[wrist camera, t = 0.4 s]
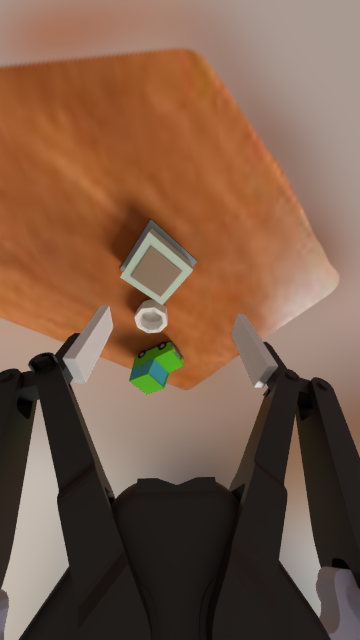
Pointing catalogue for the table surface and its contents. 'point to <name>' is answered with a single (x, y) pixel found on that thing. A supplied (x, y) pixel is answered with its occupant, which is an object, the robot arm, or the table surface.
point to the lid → (157, 268)
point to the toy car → (155, 367)
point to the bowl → (151, 316)
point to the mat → (164, 235)
